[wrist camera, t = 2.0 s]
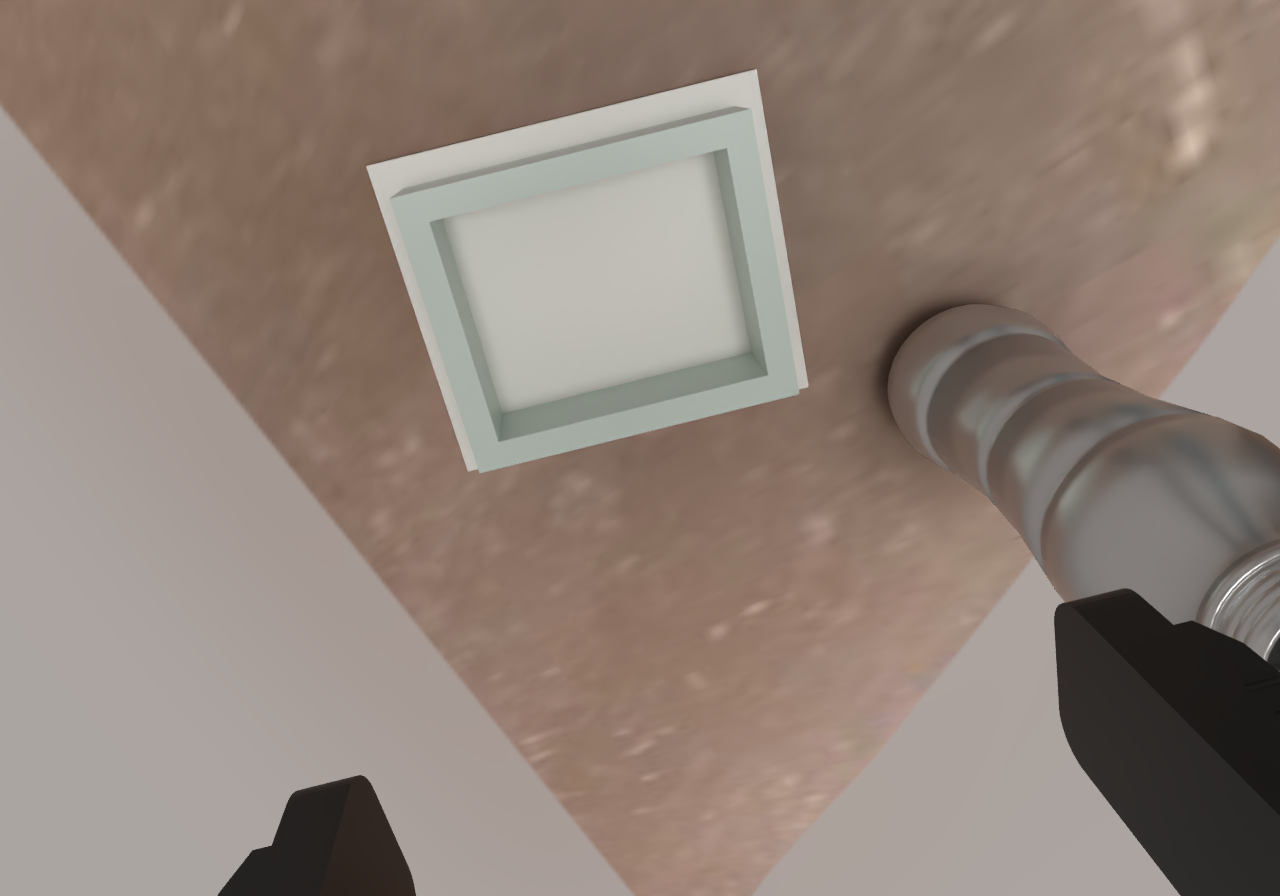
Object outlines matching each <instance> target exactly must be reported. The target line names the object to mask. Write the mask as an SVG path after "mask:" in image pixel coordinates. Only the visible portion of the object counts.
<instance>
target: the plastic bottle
mask: <svg viewBox="0 0 1280 896" xmlns="http://www.w3.org/2000/svg"><path fill="white" fill-rule="evenodd" d="M887 389H888V401H889V405H890V408H891V411H892V414H893V416H894V418H895V421H896V423H897V425H898V427H899V429H900V431H901V433H902V434H903V436H904V438H905V439H906V441H907V442H908V443H909V444H910V445H911V446H912V447H913V448H914V449H915V450H916V451H917V452H918V453H920V454H921V455H923V456H925V457H926V458H928V459H929V460H931V461H932V462H934V463H936V464H937V465H939V466H940V467H942V468H943V469H945V470H947V471H950V472H952V473H954V474H957V475H959V476H960V477H961V478H963V479H964V480H965V481H967V482H968V483H969V484H971V485H972V486H973V487H975V488H976V489H977V490H979V491H980V492H981V493H983V494H984V495H985V496H987V497H988V498H989V499H990V500H991V501H992V503H993V504H994V505H995V506H996V507H997V508H998V509H999V511H1000V512H1001V513H1002V514H1003V515H1004V516H1005V518H1006V519H1007V520H1008V521H1009V522H1010V523H1011V525H1012V526H1013V527H1014V528H1015V529H1016V530H1017V531H1018V533H1019V534H1020V535H1021V537H1022V538H1023V540H1024V542H1025V543H1026V545H1027V546H1028V548H1029V549H1030V551H1031V553H1032V554H1033V556H1034V557H1035V559H1036V560H1037V562H1038V563H1039V565H1040V567H1041V568H1042V570H1043V571H1044V573H1045V574H1046V576H1047V578H1048V579H1049V581H1050V582H1051V584H1052V585H1053V586H1054V589H1055V590H1056V592H1057V593H1058V594H1059V595H1060V596H1061V598H1062V599H1063V600H1064V601H1065V603H1066V602H1070V601H1074V600H1078V599H1082V598H1086V597H1090V596H1094V595H1098V594H1102V593H1106V592H1110V591H1114V590H1118V589H1123V588H1128V589H1131V590H1133V591H1135V592H1136V593H1138V594H1139V595H1140V596H1141V597H1142V598H1144V599H1145V600H1146V601H1147V602H1148V603H1149V604H1150V605H1152V606H1153V607H1154V608H1155V609H1156V610H1157V611H1158V612H1160V613H1161V614H1162V615H1163V616H1164V617H1165V618H1166V619H1168V620H1169V621H1170V622H1171V623H1172V624H1173V625H1175V624H1179V623H1183V622H1187V621H1191V620H1192V621H1195V622H1197V623H1199V624H1202V625H1204V626H1206V627H1208V628H1211V629H1213V630H1215V631H1218V632H1220V633H1222V634H1224V635H1227V636H1229V637H1231V638H1234V639H1236V640H1238V641H1241V642H1243V643H1245V644H1246V645H1247V646H1248V647H1249V648H1251V649H1252V650H1253V651H1254V652H1256V653H1257V654H1258V655H1259V656H1261V657H1262V658H1263V659H1264V660H1265V661H1267V662H1268V663H1269V664H1270V665H1272V666H1273V667H1274V668H1275V669H1277V670H1278V671H1279V672H1280V449H1279V448H1278V447H1277V446H1276V445H1274V444H1273V443H1272V442H1270V441H1269V440H1268V439H1266V438H1265V437H1264V436H1262V435H1260V434H1258V433H1255V432H1253V431H1250V430H1248V429H1245V428H1243V427H1240V426H1238V425H1236V424H1233V423H1231V422H1228V421H1226V420H1224V419H1221V418H1219V417H1214V416H1211V415H1208V414H1205V413H1201V412H1198V411H1195V410H1191V409H1188V408H1185V407H1181V406H1178V405H1175V404H1171V403H1168V402H1164V401H1161V400H1158V399H1155V398H1151V397H1149V396H1146V395H1144V394H1142V393H1140V392H1138V391H1135V390H1133V389H1131V388H1129V387H1126V386H1124V385H1121V384H1120V383H1118V382H1115V381H1113V380H1111V379H1109V378H1106V377H1104V376H1102V375H1101V374H1099V373H1098V372H1097V371H1095V370H1094V369H1093V368H1091V367H1090V366H1088V365H1087V364H1086V363H1084V362H1083V361H1082V360H1080V359H1079V358H1078V357H1076V356H1075V355H1074V354H1072V353H1071V351H1070V350H1069V349H1068V348H1067V347H1066V345H1065V344H1064V343H1063V342H1062V341H1061V340H1060V338H1059V337H1058V336H1056V335H1055V334H1054V333H1053V332H1052V331H1051V330H1050V329H1048V328H1047V327H1046V326H1045V325H1044V324H1042V323H1041V322H1040V321H1038V320H1037V319H1035V318H1034V317H1033V316H1031V315H1028V314H1026V313H1024V312H1021V311H1019V310H1016V309H1010V308H1005V307H999V306H993V305H986V304H968V305H963V306H959V307H954V308H951V309H948V310H946V311H943V312H941V313H938V314H937V315H935V316H933V317H932V318H930V319H928V320H927V321H925V322H924V323H922V324H921V325H920V326H919V327H918V328H917V329H916V330H914V331H913V332H912V333H911V334H910V336H909V337H908V338H907V339H906V341H905V342H904V343H903V344H902V345H901V347H900V349H899V351H898V353H897V354H896V356H895V358H894V360H893V363H892V366H891V369H890V372H889V379H888V387H887Z"/></svg>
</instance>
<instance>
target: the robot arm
mask: <svg viewBox="0 0 1280 896" xmlns="http://www.w3.org/2000/svg"><path fill="white" fill-rule="evenodd" d="M1054 626H1055V642H1056V660H1057V677H1058V696H1059V711H1060V717H1061V722H1062V726H1063V729H1064V732H1065V735H1066V738H1067V741H1068V743H1069V745H1070V747H1071V750H1072V752H1073V754H1074V756H1075V757H1076V759H1077V761H1078V762H1079V764H1080V765H1081V767H1082V768H1083V770H1084V771H1085V772H1086V774H1087V775H1088V776H1089V778H1090V779H1091V780H1092V781H1093V783H1094V784H1095V785H1096V787H1097V788H1098V789H1099V791H1100V792H1101V793H1102V794H1103V796H1104V797H1105V798H1106V800H1107V801H1108V802H1109V804H1110V805H1111V806H1112V807H1113V809H1114V810H1115V811H1116V812H1117V814H1118V815H1119V816H1120V818H1121V819H1122V820H1123V822H1124V823H1125V824H1126V825H1127V827H1128V828H1129V829H1130V831H1131V832H1132V833H1133V835H1134V836H1135V837H1136V838H1137V840H1138V841H1139V842H1140V844H1141V845H1142V846H1143V848H1144V849H1145V850H1146V851H1147V853H1148V854H1149V855H1150V857H1151V858H1152V859H1153V860H1154V862H1155V863H1156V864H1157V866H1158V867H1159V868H1160V870H1161V871H1162V872H1163V873H1164V875H1165V876H1166V877H1167V879H1168V880H1169V881H1170V882H1171V884H1172V885H1173V886H1174V888H1175V889H1176V890H1177V891H1178V893H1179V894H1180V895H1181V896H1280V672H1279V671H1278V670H1277V669H1275V668H1274V667H1273V666H1272V665H1270V664H1269V663H1268V662H1267V661H1265V660H1264V659H1263V658H1262V657H1261V656H1259V655H1258V654H1257V653H1256V652H1254V651H1253V650H1252V649H1251V648H1249V647H1248V646H1247V645H1246V644H1245V643H1243V642H1241V641H1238V640H1236V639H1234V638H1231V637H1229V636H1227V635H1224V634H1222V633H1220V632H1218V631H1215V630H1213V629H1211V628H1208V627H1206V626H1204V625H1202V624H1199V623H1197V622H1195V621H1192V620H1191V621H1187V622H1183V623H1179V624H1175V625H1173V624H1172V623H1171V622H1170V621H1169V620H1168V619H1166V618H1165V617H1164V616H1163V615H1162V614H1161V613H1160V612H1158V611H1157V610H1156V609H1155V608H1154V607H1153V606H1152V605H1150V604H1149V603H1148V602H1147V601H1146V600H1145V599H1144V598H1142V597H1141V596H1140V595H1139V594H1138V593H1136V592H1135V591H1133V590H1131V589H1128V588H1123V589H1118V590H1114V591H1110V592H1106V593H1102V594H1098V595H1094V596H1090V597H1086V598H1082V599H1078V600H1074V601H1070V602H1066V603H1062V604H1060V605H1059V606H1058V607H1057V608H1056V611H1055V616H1054ZM218 896H416V893H415V888H414V883H413V879H412V875H411V872H410V870H409V867H408V865H407V863H406V860H405V858H404V856H403V854H402V851H401V849H400V847H399V845H398V842H397V840H396V838H395V836H394V833H393V831H392V829H391V827H390V825H389V822H388V820H387V818H386V816H385V813H384V811H383V809H382V807H381V804H380V802H379V800H378V798H377V795H376V793H375V791H374V789H373V787H372V785H371V783H370V782H369V781H368V779H367V778H366V777H364V776H362V775H359V776H354V777H350V778H346V779H342V780H338V781H334V782H330V783H326V784H322V785H318V786H314V787H310V788H306V789H302V790H298V791H296V792H294V793H293V794H292V795H291V797H290V798H289V800H288V803H287V805H286V808H285V810H284V813H283V816H282V819H281V822H280V824H279V827H278V830H277V833H276V835H275V838H274V841H273V844H272V846H268V847H264V848H260V849H256V850H253V851H252V852H251V853H250V854H249V856H248V857H247V858H246V859H245V861H244V862H243V864H241V866H240V867H239V868H238V870H237V871H236V872H235V873H234V875H233V876H232V877H231V879H230V880H229V881H228V882H227V884H226V885H225V886H224V887H223V889H222V890H221V891H220V893H219V894H218Z"/></svg>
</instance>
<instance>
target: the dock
mask: <svg viewBox="0 0 1280 896" xmlns="http://www.w3.org/2000/svg"><path fill="white" fill-rule="evenodd" d="M366 167H367V170H368V173H369V176H370V179H371V182H372V185H373V188H374V191H375V194H376V197H377V200H378V203H379V206H380V209H381V212H382V215H383V218H384V221H385V224H386V227H387V230H388V233H389V236H390V239H391V242H392V245H393V248H394V251H395V254H396V257H397V260H398V263H399V266H400V269H401V272H402V275H403V278H404V281H405V284H406V287H407V290H408V293H409V296H410V299H411V302H412V305H413V308H414V311H415V314H416V317H417V320H418V323H419V326H420V329H421V332H422V335H423V338H424V341H425V344H426V347H427V350H428V353H429V356H430V359H431V362H432V365H433V368H434V371H435V374H436V377H437V380H438V383H439V386H440V389H441V392H442V395H443V398H444V401H445V404H446V407H447V410H448V413H449V416H450V419H451V422H452V425H453V428H454V431H455V434H456V437H457V440H458V443H459V446H460V449H461V452H462V455H463V458H464V461H465V464H466V467H467V470H468V471H472V470H476V469H478V470H479V473H483V472H487V471H492V470H496V469H500V468H504V467H508V466H512V465H516V464H520V463H524V462H528V461H532V460H536V459H540V458H544V457H548V456H552V455H556V454H560V453H564V452H568V451H572V450H576V449H580V448H584V447H588V446H592V445H596V444H600V443H604V442H608V441H612V440H617V439H621V438H625V437H629V436H633V435H637V434H641V433H645V432H649V431H653V430H657V429H661V428H665V427H669V426H673V425H677V424H681V423H685V422H689V421H693V420H697V419H701V418H705V417H709V416H713V415H717V414H721V413H725V412H729V411H733V410H738V409H742V408H746V407H750V406H754V405H758V404H762V403H766V402H770V401H774V400H778V399H782V398H786V397H790V396H794V395H798V394H799V389H803V388H807V387H809V386H808V380H807V374H806V368H805V361H804V355H803V349H802V343H801V337H800V331H799V325H798V319H797V313H796V307H795V300H794V294H793V288H792V282H791V276H790V270H789V264H788V258H787V252H786V246H785V239H784V233H783V227H782V221H781V215H780V209H779V203H778V197H777V191H776V185H775V179H774V172H773V166H772V160H771V154H770V148H769V142H768V136H767V130H766V124H765V118H764V111H763V105H762V99H761V93H760V87H759V81H758V75H757V69H753V70H749V71H745V72H741V73H737V74H733V75H729V76H725V77H721V78H716V79H712V80H708V81H704V82H700V83H696V84H692V85H688V86H684V87H680V88H676V89H672V90H668V91H664V92H660V93H656V94H652V95H648V96H644V97H640V98H636V99H632V100H628V101H624V102H620V103H616V104H612V105H608V106H604V107H600V108H596V109H592V110H588V111H584V112H580V113H576V114H572V115H568V116H564V117H560V118H556V119H552V120H548V121H544V122H539V123H535V124H531V125H527V126H523V127H519V128H515V129H511V130H507V131H503V132H499V133H495V134H491V135H487V136H483V137H479V138H475V139H471V140H467V141H463V142H459V143H455V144H451V145H447V146H443V147H439V148H435V149H431V150H427V151H423V152H419V153H415V154H411V155H407V156H403V157H399V158H395V159H391V160H387V161H383V162H379V163H375V164H371V165H368V166H366Z"/></svg>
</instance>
